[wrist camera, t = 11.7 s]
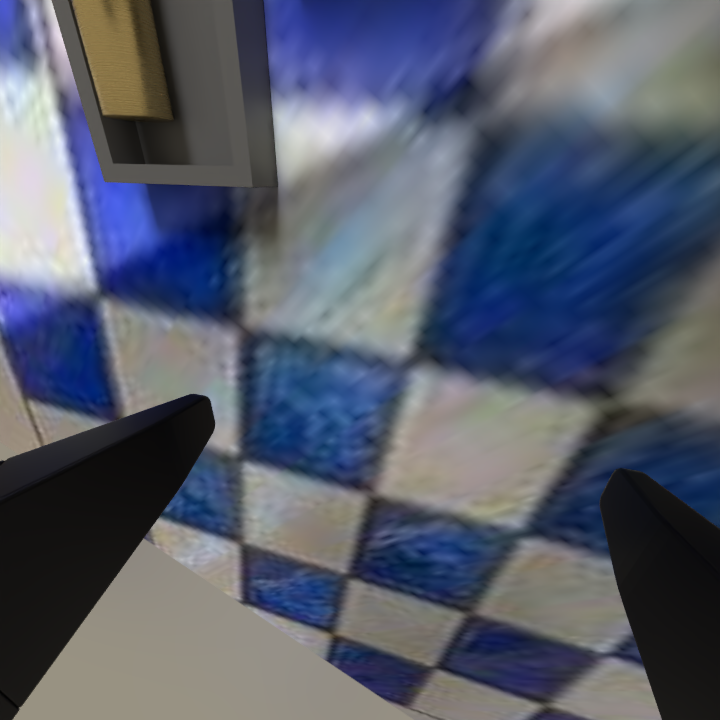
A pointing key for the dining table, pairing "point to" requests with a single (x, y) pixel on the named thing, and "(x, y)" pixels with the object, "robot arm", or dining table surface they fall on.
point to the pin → (124, 59)
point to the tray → (191, 99)
